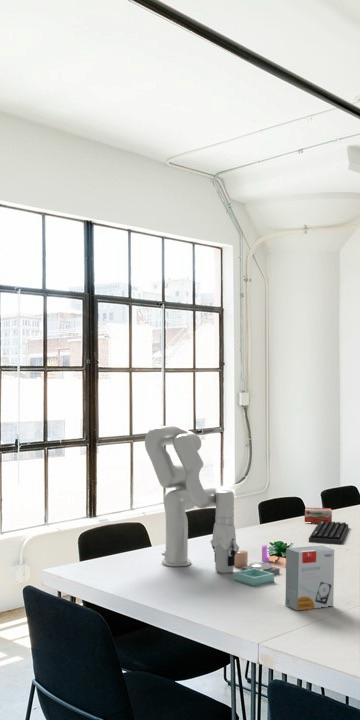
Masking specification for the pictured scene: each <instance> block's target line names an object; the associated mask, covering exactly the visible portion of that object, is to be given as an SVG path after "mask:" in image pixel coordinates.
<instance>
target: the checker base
mask: <svg viewBox="0 0 360 720" xmlns="http://www.w3.org/2000/svg"><path fill="white" fill-rule="evenodd" d="M248 569H250V565H248V566H245V567H242V568H241V571H243V570H248ZM260 570H262V569H260ZM263 571H266V572H270V573H273V574H274V576H275V575H278V574H280V567H276V566H272V568H271V569H270V570H263Z"/></svg>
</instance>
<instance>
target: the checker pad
mask: <svg viewBox="0 0 360 720" xmlns="http://www.w3.org/2000/svg"><path fill="white" fill-rule="evenodd" d="M249 566H250V569H253V568H255V569H259V570H260V569H262V570H270V569H271V568H272V567H273V566H272V564H271V563H270V562H264V561H261V562H260V561H256V562H251V563H249Z"/></svg>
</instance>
